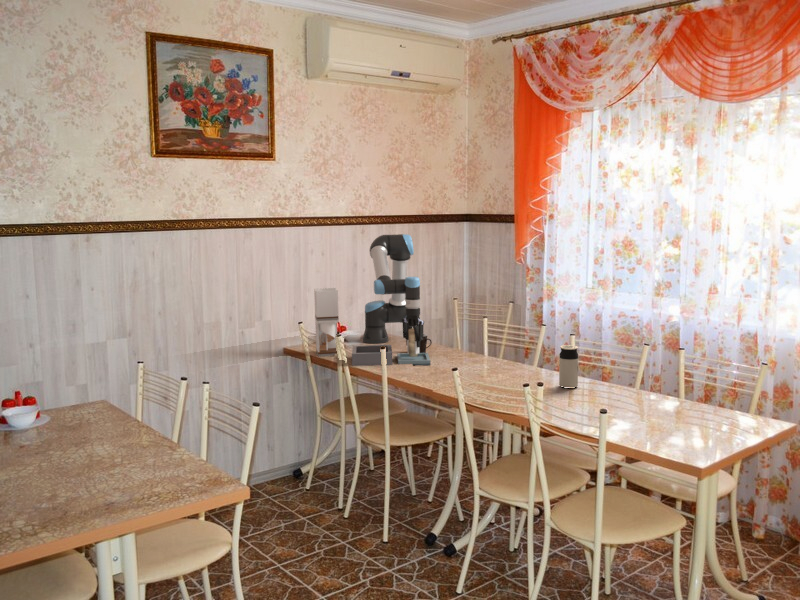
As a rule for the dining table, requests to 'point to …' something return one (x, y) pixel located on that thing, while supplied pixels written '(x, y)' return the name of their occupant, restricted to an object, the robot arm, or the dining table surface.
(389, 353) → the grey open bin
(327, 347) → the white coffee grinder
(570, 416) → the dining table surface
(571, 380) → the travel mug
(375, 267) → the robot arm
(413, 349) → the dowel pin
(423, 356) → the tray
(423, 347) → the coffee mug
